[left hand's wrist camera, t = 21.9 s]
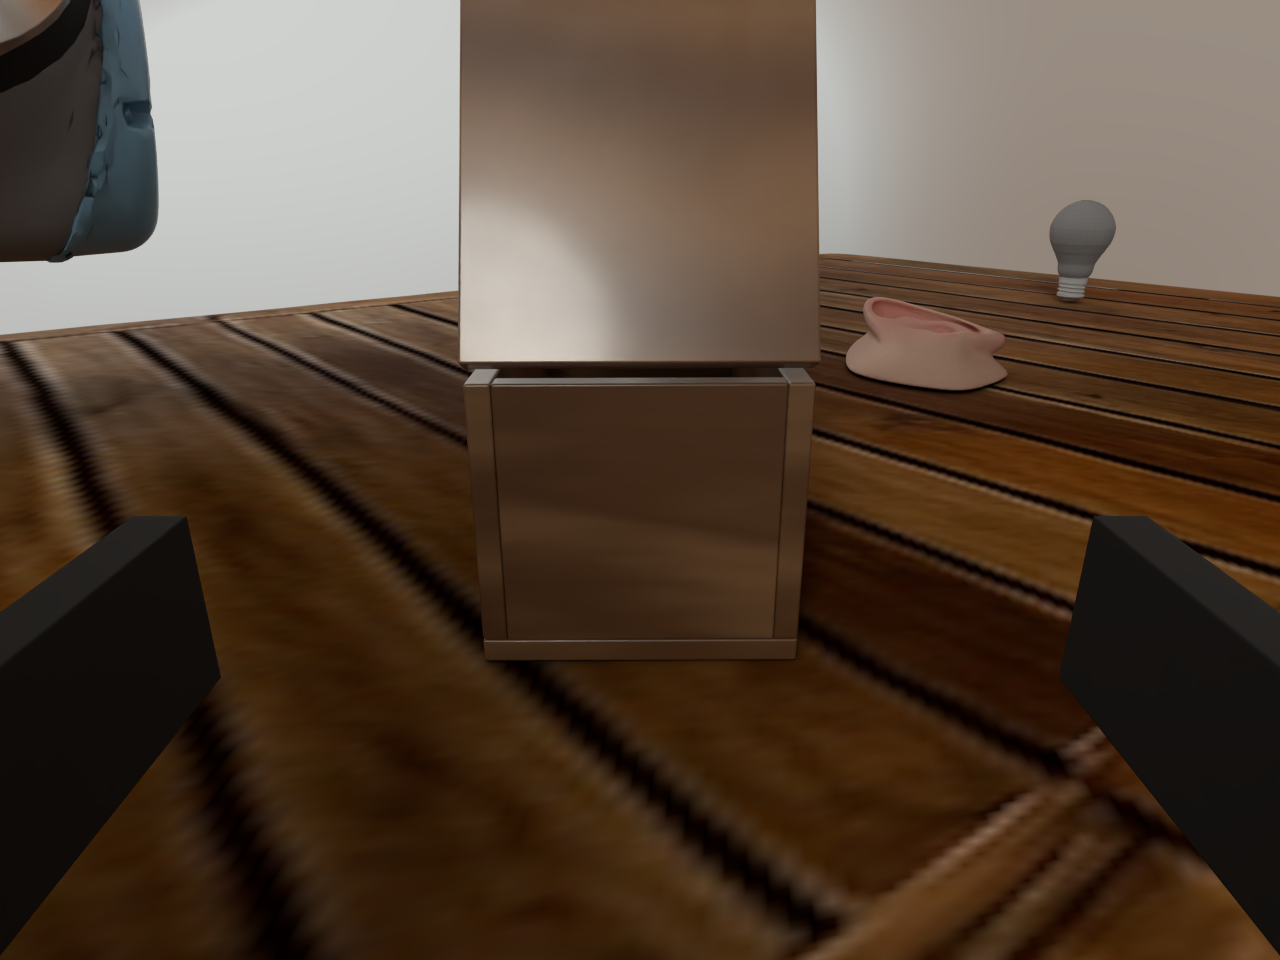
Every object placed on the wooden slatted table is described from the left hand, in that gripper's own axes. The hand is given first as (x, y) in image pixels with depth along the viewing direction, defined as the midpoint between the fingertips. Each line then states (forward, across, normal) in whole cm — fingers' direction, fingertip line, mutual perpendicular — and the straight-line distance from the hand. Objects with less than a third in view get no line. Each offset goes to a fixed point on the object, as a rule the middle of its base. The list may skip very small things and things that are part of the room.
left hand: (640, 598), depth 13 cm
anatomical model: (+49, +20, -9) cm, 54 cm away
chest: (+19, 0, -8) cm, 21 cm away
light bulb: (+79, +45, -9) cm, 91 cm away
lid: (+15, 0, +8) cm, 17 cm away
